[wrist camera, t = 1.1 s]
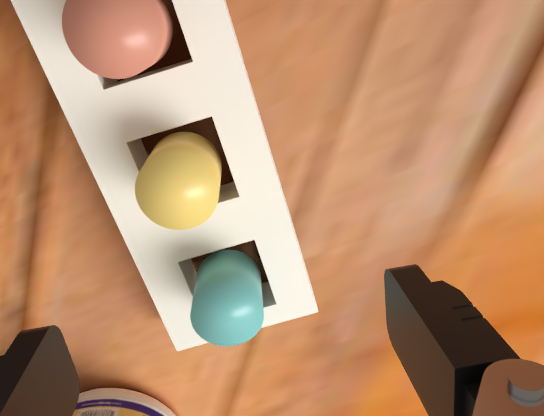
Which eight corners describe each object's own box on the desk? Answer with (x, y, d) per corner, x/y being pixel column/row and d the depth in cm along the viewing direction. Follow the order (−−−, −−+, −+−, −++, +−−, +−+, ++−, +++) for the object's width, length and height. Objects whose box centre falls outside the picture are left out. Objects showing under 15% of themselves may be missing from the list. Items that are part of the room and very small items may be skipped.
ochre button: (208, 122, 26) (202, 141, 22) (231, 188, 28) (230, 217, 24) (138, 143, 27) (121, 166, 23) (165, 208, 28) (153, 239, 24)
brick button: (155, -30, 23) (138, -38, 19) (184, 55, 25) (174, 63, 21) (76, -4, 23) (44, -7, 20) (110, 78, 25) (87, 90, 21)
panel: (200, -82, 24) (196, -94, 22) (311, 287, 34) (318, 311, 31) (24, -24, 25) (-3, -28, 22) (182, 324, 34) (177, 351, 32)
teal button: (249, 241, 29) (251, 276, 26) (268, 294, 31) (272, 335, 27) (187, 260, 30) (179, 297, 26) (209, 311, 31) (204, 354, 27)
